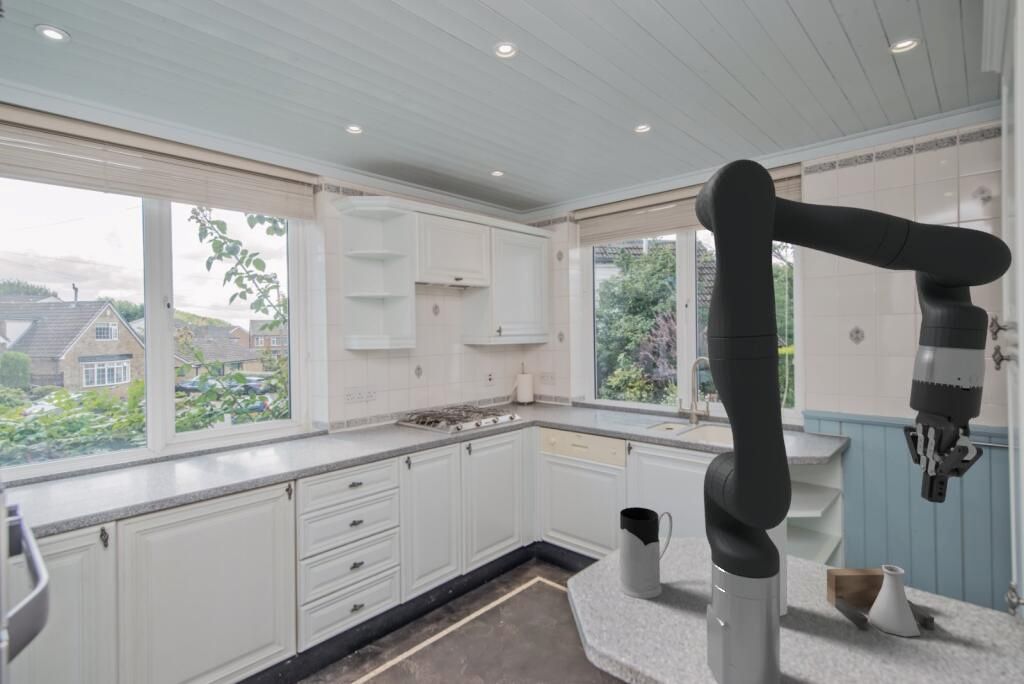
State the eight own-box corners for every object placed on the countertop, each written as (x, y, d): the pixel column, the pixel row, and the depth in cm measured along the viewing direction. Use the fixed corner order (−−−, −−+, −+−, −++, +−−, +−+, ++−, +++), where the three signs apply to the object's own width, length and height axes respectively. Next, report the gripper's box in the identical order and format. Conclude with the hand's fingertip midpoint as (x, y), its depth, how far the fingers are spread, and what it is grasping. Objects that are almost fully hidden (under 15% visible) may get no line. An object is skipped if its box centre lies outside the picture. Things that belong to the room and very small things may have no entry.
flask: (929, 640, 83) (930, 581, 83) (880, 635, 85) (880, 577, 84) (905, 616, 90) (906, 561, 90) (860, 611, 92) (860, 557, 91)
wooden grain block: (860, 629, 86) (860, 595, 86) (826, 599, 96) (826, 568, 95) (933, 629, 86) (934, 594, 86) (892, 599, 95) (892, 568, 95)
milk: (736, 605, 95) (734, 489, 94) (761, 598, 97) (759, 484, 96) (763, 622, 89) (761, 498, 88) (788, 614, 91) (786, 494, 91)
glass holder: (608, 584, 103) (607, 512, 102) (655, 565, 111) (654, 498, 110) (641, 603, 96) (640, 525, 95) (689, 581, 103) (688, 509, 103)
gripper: (889, 372, 77) (877, 482, 78) (950, 384, 64) (934, 516, 65) (943, 376, 76) (930, 487, 77) (1017, 389, 63) (999, 523, 64)
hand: (932, 500), depth 71 cm, fingers closed
